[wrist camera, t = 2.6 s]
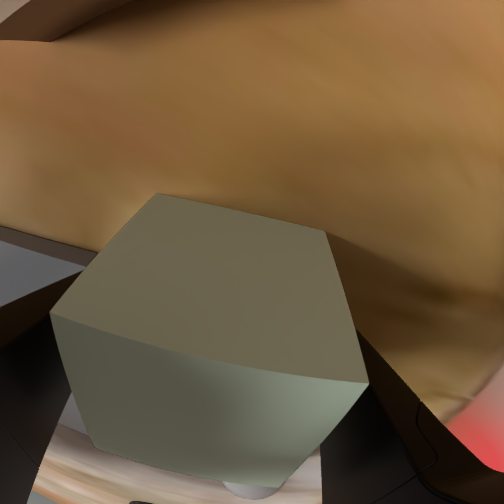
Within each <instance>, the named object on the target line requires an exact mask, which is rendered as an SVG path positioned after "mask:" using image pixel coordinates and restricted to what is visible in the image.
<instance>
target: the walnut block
mask: <svg viewBox="0 0 504 504" xmlns="http://www.w3.org/2000/svg"><path fill="white" fill-rule="evenodd" d="M130 1H133V0H0V40H23V41H41V42H51V41H53V40H55V39H56V38H58V37H60V36H61V35H63V34H65V33H67V32H68V31H70V30H72V29H74V28H76V27H78V26H79V25H81V24H83V23H85V22H87V21H89V20H91V19H93V18H95V17H97V16H99V15H101V14H103V13H105V12H108V11H110V10H112V9H114V8H116V7H119V6H121V5H123V4H126V3H128V2H130Z"/></svg>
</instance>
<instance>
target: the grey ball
mask: <svg viewBox="0 0 504 504" xmlns="http://www.w3.org/2000/svg"><path fill="white" fill-rule="evenodd" d="M222 482H223V481H222ZM285 482H286V481H285ZM285 482H284V483H285ZM223 483H224V485H225V486H226V488H227V489H228V490H229V491H231V492H232V493H233V494H235V495H237V496H239V497H241V498H245V499H251V500H256V499H263V498H266V497H269V496H271V495H273V494H275V493H276V492H277V491H279V490H280V489H281V487H282V486H283V485H284V483H283V484H282V485H281V486H280V487H279V488H275V487H263V486H253V485H245V484H237V483H230V482H223Z"/></svg>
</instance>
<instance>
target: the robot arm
mask: <svg viewBox="0 0 504 504" xmlns="http://www.w3.org/2000/svg"><path fill="white" fill-rule="evenodd" d="M83 271H84V270H82V271H80V272H77V273H75V274H73V275H70V276H68V277H66V278H63V279H61V280H59V281H56V282H54V283H52V284H50V285H47V286H45V287H43V288H40V289H38V290H36V291H34V292H32V293H29V294H27V295H25V296H23V297H20V298H18V299H16V300H14V301H12V302H9V303H7V304H5V305H3V306H1V307H0V504H27V501H28V497H29V495H30V492H31V489H32V486H33V484H34V481H35V478H36V475H37V473H38V470H39V467H40V464H41V462H42V459H43V457H44V454H45V452H46V449H47V447H48V445H49V442H50V440H51V437H52V435H53V433H54V430H55V428H56V426H57V423H58V421H59V419H60V417H61V414H62V412H63V410H64V408H65V406H66V403H67V401H68V399H69V397H70V395H71V393H72V390H71V388H70V385H69V382H68V379H67V375H66V372H65V369H64V366H63V363H62V359H61V356H60V352H59V349H58V345H57V341H56V338H55V334H54V330H53V326H52V321H51V317H50V313H49V312H50V311H51V309H52V308H53V307H54V306H55V304H56V303H57V302H58V301H59V299H60V298H61V297H62V296H63V294H64V293H65V292H66V291H67V290H68V288H69V287H70V286H71V285H72V284H73V282H74V281H75V280H76V279H77V278H78V276H79V275H80V274H81V273H82V272H83ZM355 331H356V334H357V338H358V342H359V345H360V349H361V353H362V357H363V361H364V364H365V368H366V372H367V376H368V380H369V385H368V386H367V387H366V389H365V390H364V391H363V393H362V394H361V395H360V397H359V398H358V399H357V401H356V402H355V403H354V404H353V406H352V407H351V408H350V410H349V411H348V412H347V413H346V415H345V416H344V417H343V418H342V419H341V421H340V422H339V423H338V424H337V425H336V427H335V428H334V429H333V430H332V431H331V433H330V434H329V435H328V436H327V437H326V438H325V439H324V441H323V442H322V443H321V444H320V455H321V477H322V504H504V473H503V472H499V471H496V470H493V469H491V468H489V467H487V466H486V465H484V464H483V463H482V462H481V461H480V460H479V459H478V458H477V457H476V456H475V455H474V454H473V453H472V452H471V451H469V450H468V449H467V448H466V447H465V446H464V445H463V444H462V443H461V442H460V441H459V440H458V439H457V438H456V437H455V436H454V435H453V434H452V433H451V432H450V431H449V430H448V429H447V428H446V427H445V426H444V425H443V424H442V423H441V422H440V421H439V420H438V419H437V418H436V417H435V415H434V414H433V413H432V412H431V411H430V410H429V409H428V408H427V407H426V405H425V404H424V403H423V402H422V401H420V399H419V398H418V397H417V395H416V394H415V393H414V392H413V391H412V390H411V389H410V388H409V386H408V385H407V384H406V383H405V382H404V381H403V380H402V379H401V378H400V376H399V375H398V374H397V373H396V372H395V371H394V370H393V369H392V368H391V366H390V365H389V364H388V363H387V362H386V361H385V360H384V359H383V358H382V357H381V355H380V354H379V353H378V352H377V351H376V350H375V349H374V348H373V347H372V346H371V344H370V343H369V342H368V341H367V340H366V339H365V338H364V337H363V336H362V335H361V334H360V333H359V331H358V330H357V329H356V328H355Z"/></svg>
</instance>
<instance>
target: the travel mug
mask: <svg viewBox="0 0 504 504" xmlns="http://www.w3.org/2000/svg"><path fill="white" fill-rule="evenodd" d="M129 504H151V503H145V502H138V501H132V502H130V503H129Z"/></svg>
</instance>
